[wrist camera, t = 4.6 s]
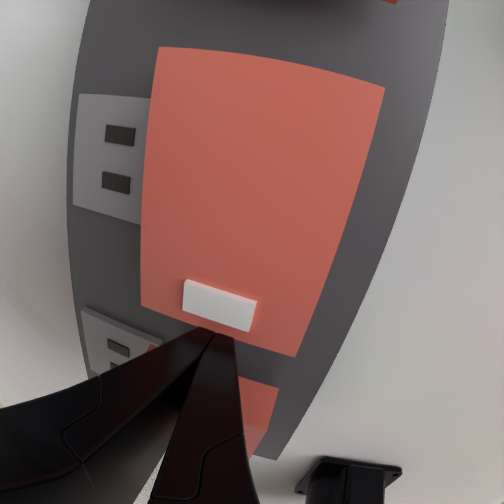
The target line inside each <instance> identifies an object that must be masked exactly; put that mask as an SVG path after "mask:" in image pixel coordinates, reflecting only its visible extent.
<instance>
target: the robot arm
mask: <svg viewBox="0 0 504 504" xmlns="http://www.w3.org/2000/svg"><path fill="white" fill-rule="evenodd" d="M165 451H166V452H165ZM164 453H165V455H164V458H163V461H162V464H161V466H160V469H159V472H158V475H157V478H156V480H155V483H154V486H153V489H152V492H151V494H150V499H149V500H148V503H147V504H260V502H259V499H258V496H257V493H256V490H255V486H254V482H253V478H252V474H251V470H250V466H249V460H248V454H247V448H246V440H245V435H244V424H243V415H242V406H241V397H240V388H239V378H238V369H237V359H236V349H235V339H234V338H233V337H230V336H227V335H224V334H221V333H215V332H214V331H212V330H209V329H206V328H203V327H200V326H199V327H196V328H194V329H192V330H190V331H188V332H186V333H184V334H182V335H180V336H178V337H176V338H174V339H172V340H170V341H168V342H166V343H164V344H162V345H160V346H158V347H156V348H154V349H152V350H150V351H148V352H146V353H144V354H142V355H140V356H138V357H135V358H133V359H131V360H129V361H127V362H125V363H123V364H121V365H119V366H116V367H114V368H112V369H110V370H108V371H106V372H104V373H101V374H100V375H99V376H95V377H93V378H90V379H88V380H86V381H84V382H81V383H79V384H76V385H74V386H72V387H69V388H67V389H64V390H61V391H58V392H55V393H52V394H49V395H46V396H43V397H40V398H36V399H33V400H29V401H26V402H23V403H19V404H16V405H12V406H8V407H5V408H0V504H133V503H134V501H135V499H136V498H137V496H138V495H139V493H140V492H141V490H142V488H143V487H144V485H145V484H146V482H147V480H148V479H149V477H150V476H151V474H152V472H153V471H154V469H155V467H156V466H157V464H158V463H159V461H160V459H161V458H162V456H163V454H164ZM401 475H402V468H398V467H389V466H380V465H372V464H365V463H358V462H351V461H345V460H339V459H334V458H328V457H325V458H321V459H320V460H319V461H318V462H317V463H316V464H315V466H314V467H313V468H312V469H311V470H310V471H309V472H308V474H307V475H306V476H305V477H304V478H303V479H302V480H301V481H300V482H299V483H298V485H297V486H296V487H295V491H294V492H295V493H297V494H302V495H307V497H306V502H305V504H384V495H385V488H386V487H387V486H389V485H390V484H391V483H392V482H394V481H395V480H396V479H397V478H399V477H400V476H401Z"/></svg>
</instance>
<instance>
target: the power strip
mask: <svg viewBox="0 0 504 504" xmlns="http://www.w3.org/2000/svg"><path fill="white" fill-rule="evenodd" d="M448 2H449V0H397V3H396V5H395V4H391V3H388V2H385V1H382V0H91V1H90V5H89V8H88V12H87V17H86V21H85V25H84V30H83V34H82V39H81V44H80V49H79V54H78V60H77V66H76V72H75V79H74V86H73V94H72V102H71V112H70V122H69V135H68V153H67V228H68V245H69V259H70V270H71V280H72V288H73V296H74V304H75V311H76V317H77V324H78V330H79V335H80V341H81V346H82V351H83V356H84V361H85V366H86V370H87V375H88V379H90V378H93V377H95V376H99V375H100V374H101V373H104V372H106V371H108V370H110V369H112V368H114V367H116V366H119V365H121V364H123V363H125V362H127V361H129V360H131V359H133V358H135V357H138V356H140V355H142V354H144V353H146V351H147V349H148V348H149V346H150V344H152V345H155V346H157V347H158V346H160V345H162V344H164V343H166V342H168V341H170V340H172V339H174V338H176V337H178V336H180V335H182V334H184V333H186V332H188V331H190V330H192V329H194V328H196V327H197V326H195V325H192V324H189V323H186V322H183V321H181V320H178V319H175V318H173V317H170V316H167V315H164V314H162V313H159V312H157V311H154V310H151V309H149V308H146V307H144V306H141V274H140V252H141V210H142V190H143V173H144V160H145V148H146V137H147V127H148V118H149V110H150V102H151V94H152V87H153V80H154V73H155V67H156V61H157V55H158V49H159V47H177V48H192V49H204V50H215V51H224V52H232V53H240V54H247V55H253V56H260V57H266V58H271V59H277V60H282V61H287V62H292V63H297V64H301V65H306V66H310V67H315V68H319V69H323V70H327V71H331V72H335V73H338V74H342V75H346V76H349V77H353V78H356V79H359V80H363V81H366V82H369V83H372V84H375V85H378V86H381V87H384V88H385V92H384V96H383V100H382V104H381V107H380V111H379V115H378V119H377V123H376V126H375V130H374V134H373V137H372V141H371V144H370V148H369V151H368V155H367V158H366V162H365V165H364V168H363V172H362V175H361V178H360V181H359V185H358V188H357V191H356V194H355V197H354V200H353V204H352V207H351V210H350V213H349V216H348V219H347V222H346V225H345V228H344V231H343V234H342V236H341V239H340V242H339V245H338V248H337V251H336V254H335V256H334V259H333V262H332V265H331V267H330V270H329V273H328V276H327V278H326V281H325V284H324V286H323V289H322V292H321V294H320V297H319V299H318V302H317V305H316V307H315V310H314V312H313V315H312V317H311V320H310V322H309V325H308V327H307V330H306V332H305V335H304V337H303V339H302V342H301V344H300V347H299V349H298V351H297V354H296V356H295V357H291V356H288V355H285V354H281V353H278V352H274V351H271V350H268V349H264V348H261V347H258V346H255V345H251V344H248V343H245V342H242V341H239V340H236V339H235V349H236V359H237V369H238V376H240V377H243V378H246V379H249V380H252V381H256V382H259V383H262V384H265V385H269V386H272V387H276V388H279V390H278V394H277V397H276V401H275V405H274V408H273V411H272V415H271V418H270V422H269V425H268V429H267V431H266V433H265V435H264V436H263V438H262V440H261V441H260V443H259V444H258V446H257V448H256V449H255V451H254V453H253V454H254V455H257V456H261V457H264V458H268V459H272V460H277V459H278V457H279V456H280V454H281V452H282V451H283V449H284V448H285V446H286V445H287V443H288V441H289V440H290V438H291V436H292V435H293V433H294V432H295V430H296V428H297V427H298V425H299V423H300V422H301V420H302V418H303V416H304V415H305V413H306V411H307V409H308V408H309V406H310V404H311V402H312V401H313V399H314V397H315V395H316V394H317V392H318V390H319V388H320V386H321V384H322V383H323V381H324V379H325V377H326V375H327V373H328V371H329V369H330V367H331V366H332V364H333V362H334V360H335V358H336V356H337V354H338V352H339V350H340V348H341V346H342V344H343V342H344V340H345V338H346V336H347V334H348V331H349V329H350V327H351V325H352V323H353V321H354V319H355V317H356V314H357V312H358V310H359V308H360V306H361V303H362V301H363V299H364V297H365V294H366V292H367V290H368V288H369V285H370V283H371V280H372V278H373V276H374V273H375V271H376V269H377V266H378V264H379V261H380V259H381V256H382V254H383V251H384V249H385V246H386V243H387V241H388V238H389V236H390V233H391V230H392V228H393V225H394V222H395V219H396V217H397V214H398V211H399V208H400V205H401V202H402V199H403V196H404V193H405V190H406V187H407V184H408V181H409V178H410V175H411V172H412V169H413V165H414V162H415V159H416V155H417V152H418V148H419V145H420V141H421V138H422V134H423V130H424V127H425V123H426V119H427V115H428V111H429V107H430V103H431V99H432V94H433V90H434V85H435V81H436V76H437V71H438V66H439V61H440V56H441V50H442V44H443V38H444V32H445V25H446V18H447V10H448Z"/></svg>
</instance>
